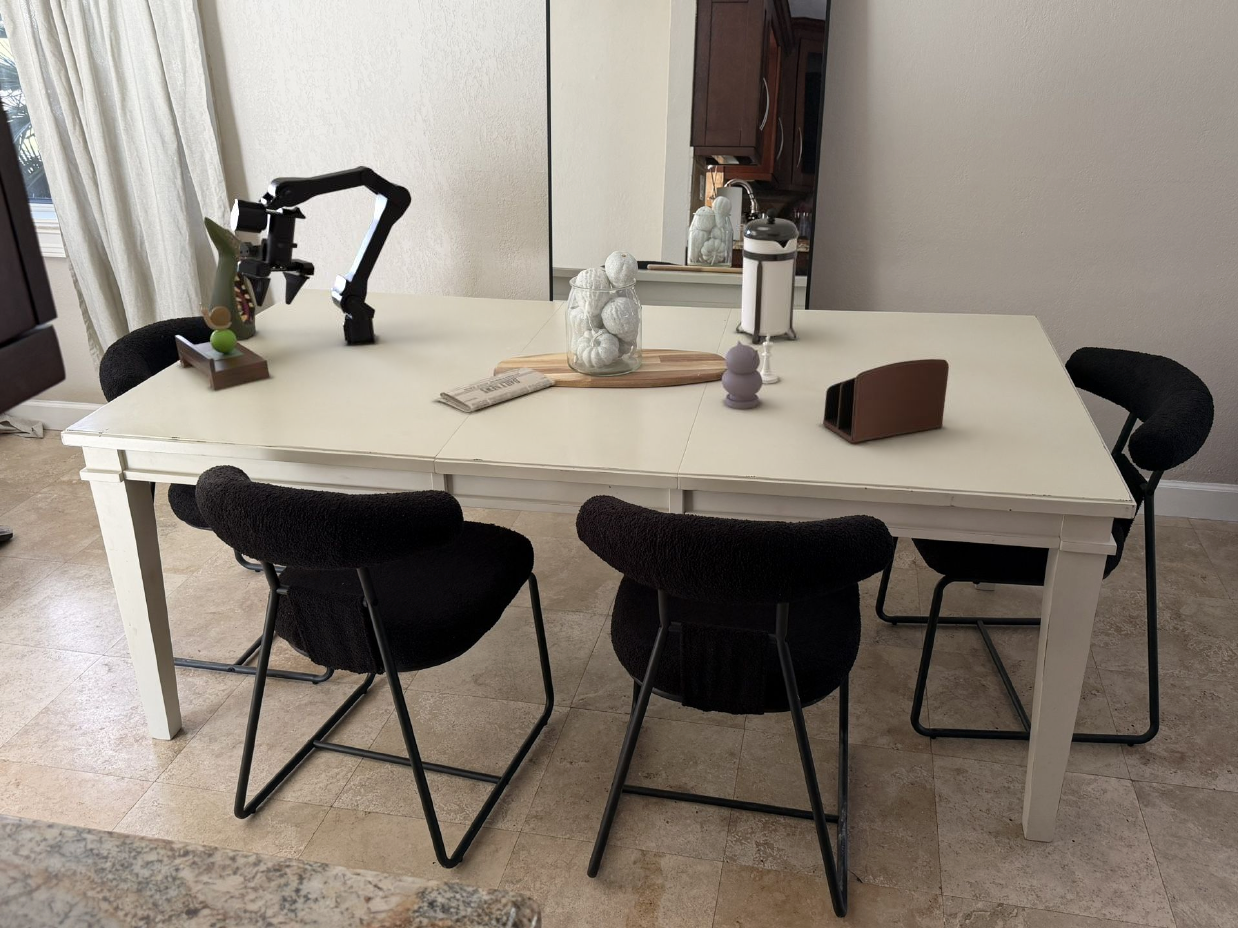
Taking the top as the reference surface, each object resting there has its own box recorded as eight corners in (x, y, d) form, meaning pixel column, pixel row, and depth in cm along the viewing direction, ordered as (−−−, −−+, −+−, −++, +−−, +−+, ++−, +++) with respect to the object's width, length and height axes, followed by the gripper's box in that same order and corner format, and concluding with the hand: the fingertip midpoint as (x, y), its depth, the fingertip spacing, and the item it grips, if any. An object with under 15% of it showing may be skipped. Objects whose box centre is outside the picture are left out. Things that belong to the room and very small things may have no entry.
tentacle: (210, 342, 245) (186, 217, 232) (233, 327, 256) (211, 207, 243) (246, 343, 244) (224, 217, 231) (267, 328, 255) (248, 207, 242)
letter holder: (942, 428, 188) (952, 355, 183) (851, 445, 182) (858, 370, 176) (910, 410, 197) (918, 340, 191) (822, 425, 190) (827, 354, 185)
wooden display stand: (233, 354, 236) (228, 325, 233) (269, 377, 220) (264, 347, 217) (180, 365, 229) (174, 335, 226) (214, 390, 214) (208, 359, 211)
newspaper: (517, 372, 221) (517, 361, 220) (554, 391, 213) (555, 380, 212) (431, 398, 206) (431, 387, 205) (467, 419, 199) (467, 408, 198)
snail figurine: (203, 354, 223) (193, 301, 218) (231, 347, 227) (221, 295, 222) (215, 359, 220) (205, 305, 215) (243, 352, 224) (233, 299, 219)
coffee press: (808, 331, 245) (817, 205, 233) (781, 348, 233) (788, 217, 220) (744, 320, 254) (748, 199, 241) (714, 337, 241) (717, 210, 229)
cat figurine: (713, 399, 204) (715, 342, 199) (747, 393, 207) (749, 336, 202) (734, 413, 197) (736, 354, 192) (769, 406, 200) (772, 348, 195)
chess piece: (780, 377, 215) (783, 332, 211) (773, 385, 211) (776, 339, 207) (758, 374, 217) (760, 329, 213) (751, 381, 213) (753, 336, 209)
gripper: (281, 229, 236) (274, 295, 241) (221, 228, 219) (215, 299, 224) (319, 239, 232) (312, 306, 237) (261, 238, 216) (254, 310, 220)
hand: (273, 305), depth 230 cm, fingers open, 9 cm apart
